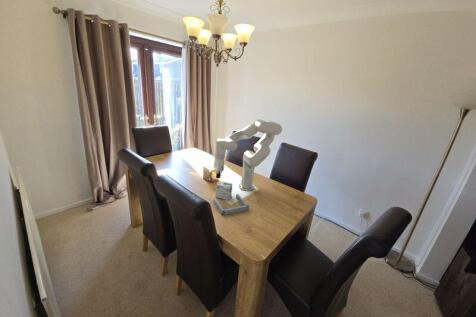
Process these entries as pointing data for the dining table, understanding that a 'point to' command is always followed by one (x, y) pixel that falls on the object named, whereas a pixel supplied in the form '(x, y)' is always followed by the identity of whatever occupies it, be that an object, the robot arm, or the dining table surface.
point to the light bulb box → (223, 190)
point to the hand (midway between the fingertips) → (218, 177)
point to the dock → (232, 210)
